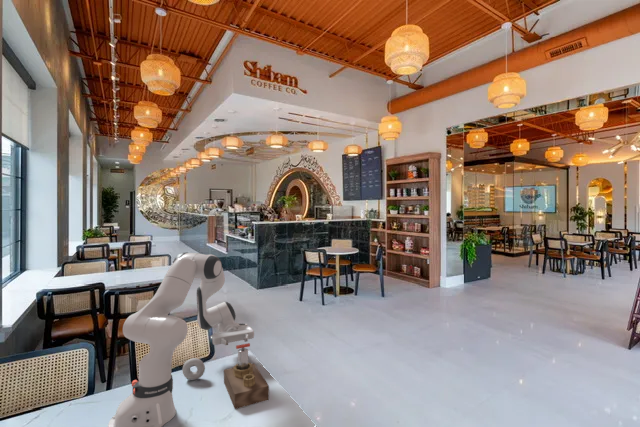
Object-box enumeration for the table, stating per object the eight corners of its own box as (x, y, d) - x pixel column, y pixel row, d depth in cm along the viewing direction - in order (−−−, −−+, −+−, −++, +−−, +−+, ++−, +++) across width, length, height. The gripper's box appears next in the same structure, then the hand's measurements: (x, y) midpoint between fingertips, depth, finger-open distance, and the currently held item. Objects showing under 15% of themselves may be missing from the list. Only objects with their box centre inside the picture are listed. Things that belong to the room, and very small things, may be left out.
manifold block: (234, 409, 129) (234, 386, 129) (224, 382, 149) (224, 363, 149) (268, 399, 136) (268, 378, 136) (254, 375, 155) (254, 356, 155)
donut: (181, 382, 149) (181, 360, 149) (183, 378, 152) (183, 357, 152) (204, 381, 150) (204, 359, 150) (205, 377, 154) (205, 356, 154)
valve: (237, 376, 142) (237, 348, 142) (235, 371, 146) (235, 344, 146) (251, 373, 145) (251, 345, 145) (248, 368, 149) (248, 341, 149)
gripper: (209, 329, 164) (214, 339, 152) (249, 323, 174) (257, 331, 161) (209, 341, 164) (214, 352, 152) (249, 334, 174) (257, 344, 161)
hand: (236, 341), depth 157 cm, fingers open, 8 cm apart
